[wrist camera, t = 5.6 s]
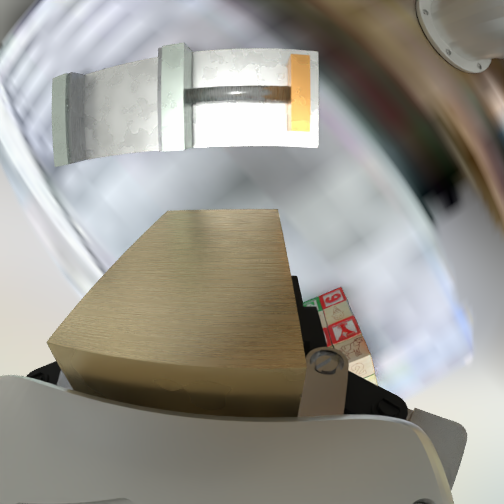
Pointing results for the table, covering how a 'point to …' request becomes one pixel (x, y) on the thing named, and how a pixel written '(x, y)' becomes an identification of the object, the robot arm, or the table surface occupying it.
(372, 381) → the stack of blocks
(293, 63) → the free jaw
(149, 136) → the vise
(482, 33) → the robot arm
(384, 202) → the table surface
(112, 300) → the brass block
